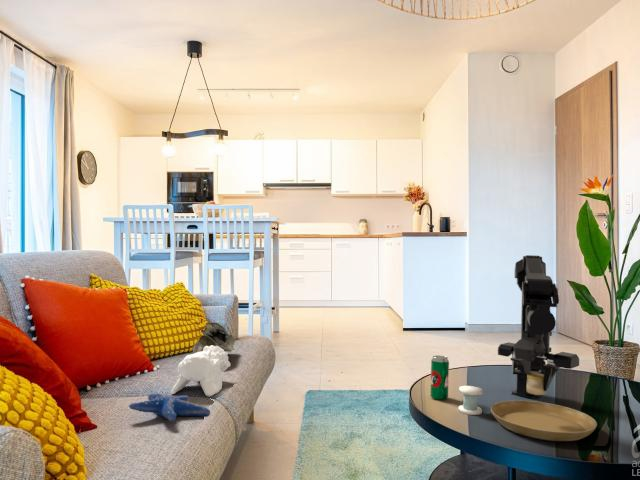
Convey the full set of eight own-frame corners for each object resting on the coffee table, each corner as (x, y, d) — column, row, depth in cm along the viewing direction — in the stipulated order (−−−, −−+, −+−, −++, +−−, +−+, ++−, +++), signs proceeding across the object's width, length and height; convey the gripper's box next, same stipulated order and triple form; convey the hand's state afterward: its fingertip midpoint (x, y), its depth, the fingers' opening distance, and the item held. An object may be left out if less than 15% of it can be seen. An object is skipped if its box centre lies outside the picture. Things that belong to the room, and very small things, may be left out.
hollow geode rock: (220, 362, 199) (195, 334, 200) (243, 341, 200) (218, 313, 200) (201, 379, 171) (173, 346, 172) (229, 354, 172) (200, 322, 172)
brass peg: (531, 388, 130) (531, 372, 130) (548, 393, 126) (548, 375, 126) (523, 391, 127) (523, 374, 127) (540, 396, 124) (540, 378, 124)
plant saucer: (492, 406, 140) (492, 394, 140) (589, 419, 131) (589, 407, 131) (488, 436, 117) (488, 422, 117) (604, 454, 108) (604, 439, 108)
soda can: (448, 401, 142) (449, 359, 142) (430, 400, 143) (431, 358, 143) (447, 396, 147) (448, 355, 147) (430, 394, 148) (431, 354, 148)
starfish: (200, 431, 115) (201, 409, 115) (120, 428, 115) (121, 406, 115) (218, 405, 133) (219, 386, 134) (149, 402, 134) (150, 384, 134)
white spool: (466, 406, 138) (467, 384, 138) (486, 412, 134) (486, 389, 134) (454, 410, 134) (454, 388, 134) (474, 416, 130) (474, 393, 130)
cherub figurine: (236, 347, 158) (214, 353, 138) (232, 387, 157) (210, 399, 137) (197, 343, 160) (170, 349, 140) (193, 383, 159) (165, 395, 139)
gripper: (487, 325, 128) (486, 385, 128) (561, 336, 115) (560, 404, 114) (508, 321, 136) (507, 378, 136) (580, 331, 122) (579, 395, 122)
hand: (536, 388), depth 127 cm, fingers closed on brass peg, 4 cm apart
